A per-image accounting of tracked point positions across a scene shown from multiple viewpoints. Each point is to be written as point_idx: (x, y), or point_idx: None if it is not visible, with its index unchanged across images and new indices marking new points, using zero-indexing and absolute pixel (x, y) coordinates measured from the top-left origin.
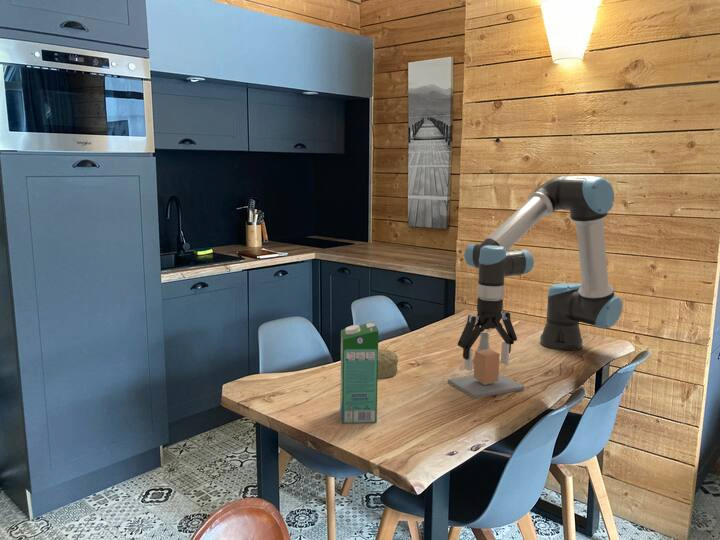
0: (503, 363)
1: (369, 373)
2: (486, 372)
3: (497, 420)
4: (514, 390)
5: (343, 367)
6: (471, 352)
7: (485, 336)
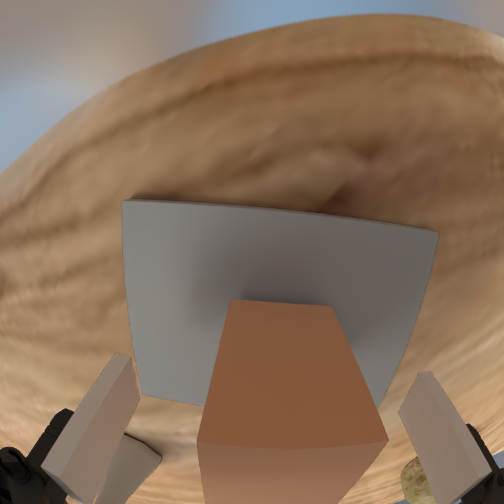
0: (135, 379)
1: None
2: (333, 341)
3: (464, 38)
4: (187, 202)
5: None
6: (477, 458)
7: None
